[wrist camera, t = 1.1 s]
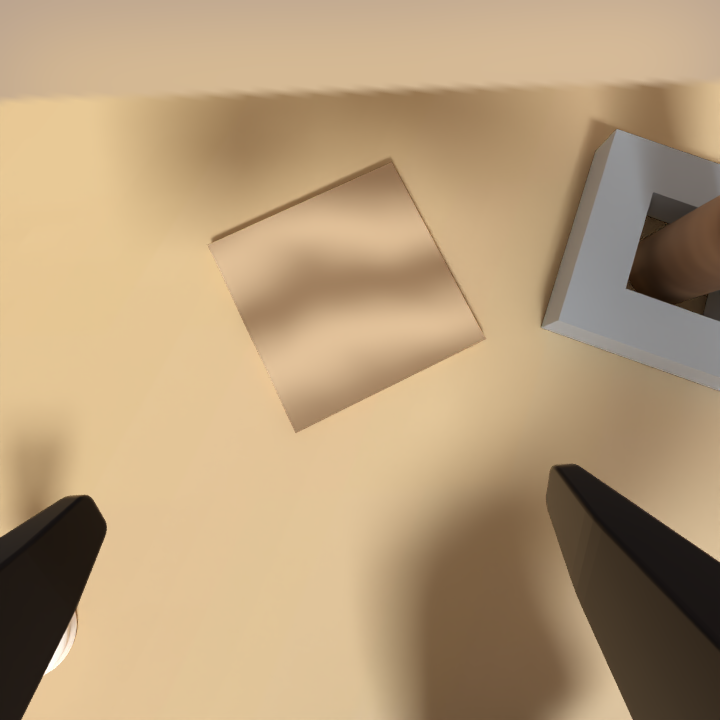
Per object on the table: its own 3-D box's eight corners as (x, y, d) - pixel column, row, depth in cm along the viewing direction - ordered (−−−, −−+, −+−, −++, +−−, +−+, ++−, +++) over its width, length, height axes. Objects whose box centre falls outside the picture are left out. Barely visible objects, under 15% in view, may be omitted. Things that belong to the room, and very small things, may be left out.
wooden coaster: (482, 340, 24) (485, 338, 23) (297, 432, 23) (295, 433, 22) (390, 167, 25) (391, 161, 24) (211, 248, 24) (207, 244, 23)
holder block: (735, 396, 23) (770, 395, 21) (540, 327, 24) (558, 320, 22) (779, 214, 25) (816, 197, 23) (595, 150, 25) (616, 128, 23)
